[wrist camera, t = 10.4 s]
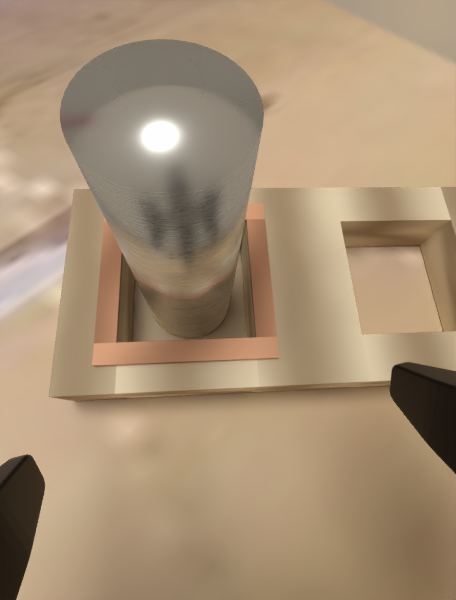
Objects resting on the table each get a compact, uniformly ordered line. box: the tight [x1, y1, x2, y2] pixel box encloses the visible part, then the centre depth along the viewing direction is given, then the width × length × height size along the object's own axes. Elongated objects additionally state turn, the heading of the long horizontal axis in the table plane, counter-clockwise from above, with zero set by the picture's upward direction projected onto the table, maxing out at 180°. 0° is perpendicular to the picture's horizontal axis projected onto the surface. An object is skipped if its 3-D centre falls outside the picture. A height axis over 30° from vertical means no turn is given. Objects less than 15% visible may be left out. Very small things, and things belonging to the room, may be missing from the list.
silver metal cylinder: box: [60, 39, 264, 338], centre depth 14 cm, size 5×5×13 cm
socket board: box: [49, 187, 456, 401], centre depth 19 cm, size 24×11×3 cm, turn 93°
